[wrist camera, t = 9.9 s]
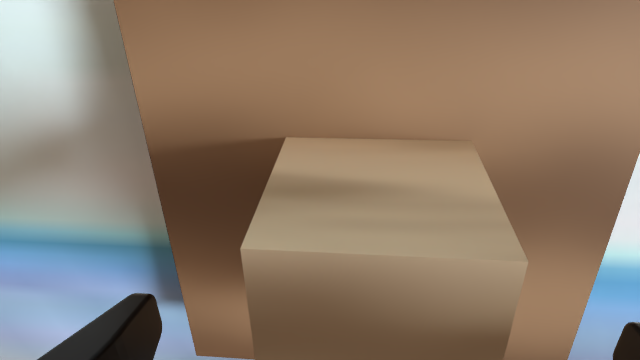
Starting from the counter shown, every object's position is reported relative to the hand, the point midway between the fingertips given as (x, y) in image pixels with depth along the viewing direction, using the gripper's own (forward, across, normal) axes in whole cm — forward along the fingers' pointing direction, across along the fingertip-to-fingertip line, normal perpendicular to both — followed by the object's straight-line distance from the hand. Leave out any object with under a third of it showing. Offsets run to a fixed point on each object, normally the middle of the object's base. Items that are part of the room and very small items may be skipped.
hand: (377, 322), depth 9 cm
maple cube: (+4, 0, 0) cm, 4 cm away
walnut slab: (+7, 0, 0) cm, 7 cm away
